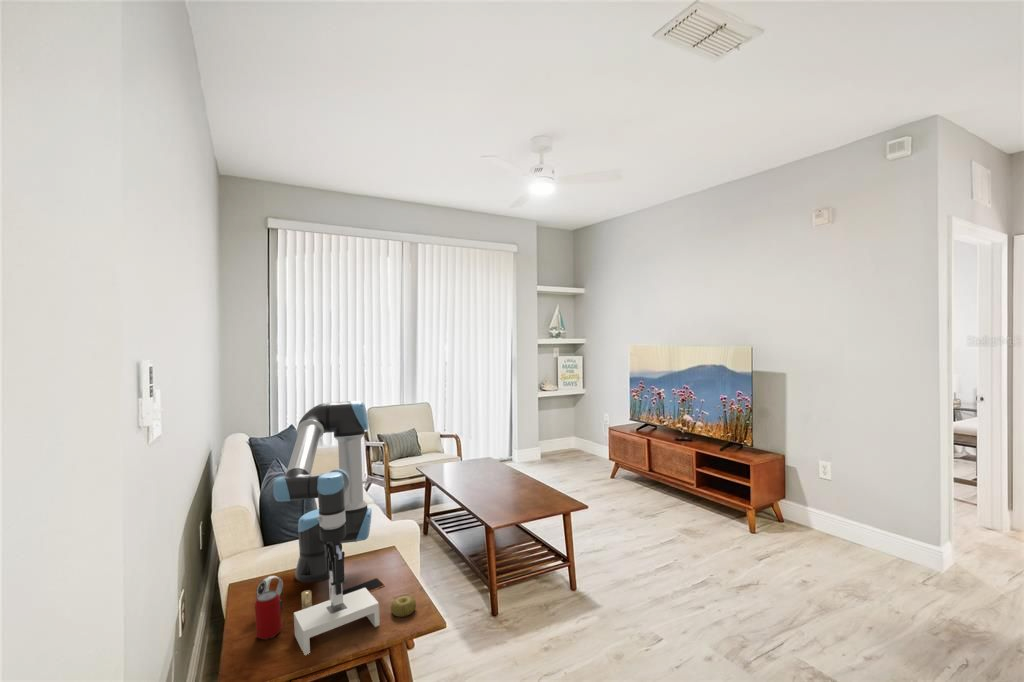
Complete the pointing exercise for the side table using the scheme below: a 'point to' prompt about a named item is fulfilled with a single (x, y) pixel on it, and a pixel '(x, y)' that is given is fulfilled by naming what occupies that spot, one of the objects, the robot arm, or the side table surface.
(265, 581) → the watch
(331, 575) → the tall steel pin
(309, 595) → the short brass pin
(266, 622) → the beverage can
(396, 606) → the sculpture
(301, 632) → the white bench
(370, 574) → the side table surface
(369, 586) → the smartphone
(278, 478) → the robot arm
